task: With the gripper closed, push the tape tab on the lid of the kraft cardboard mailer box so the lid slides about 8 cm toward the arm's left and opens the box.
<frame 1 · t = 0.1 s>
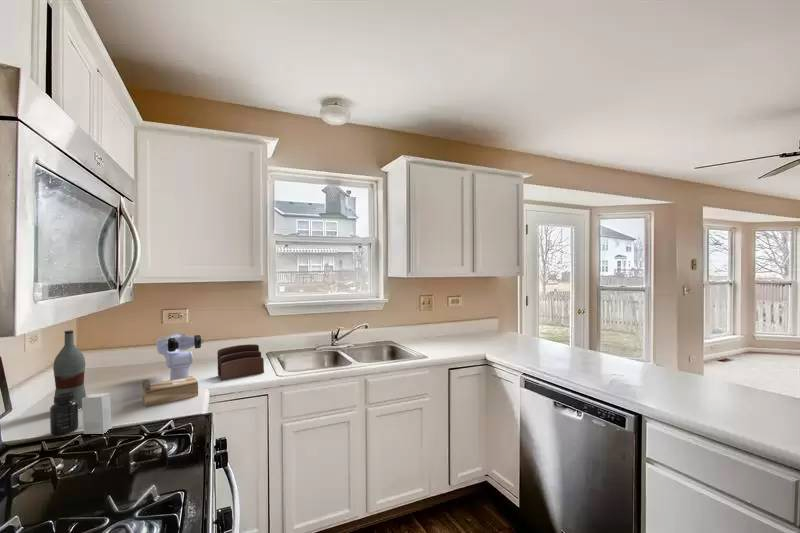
hand: (188, 344, 153), 22 cm above the worktop, tool horizontal, fingers open, 7 cm apart
mailer lid: (170, 380, 153), point 7 cm above the worktop, slide at 0.0 cm
skincare box: (97, 433, 119), on the worktop
letter holder: (241, 375, 187), on the worktop
mailer box: (170, 397, 153), on the worktop
vodka: (70, 410, 143), on the worktop
supplement bottle: (64, 432, 122), on the worktop
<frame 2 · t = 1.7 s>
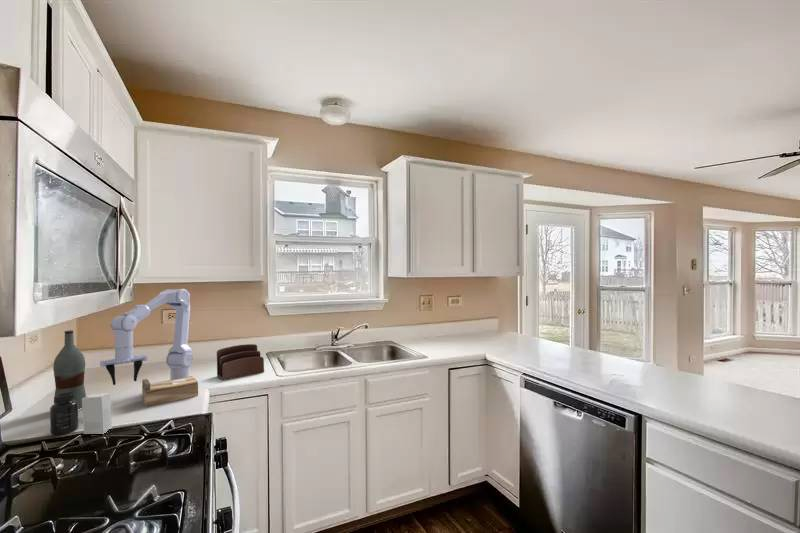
hand: (124, 382, 144), 9 cm above the worktop, tool pointing down, fingers open, 6 cm apart
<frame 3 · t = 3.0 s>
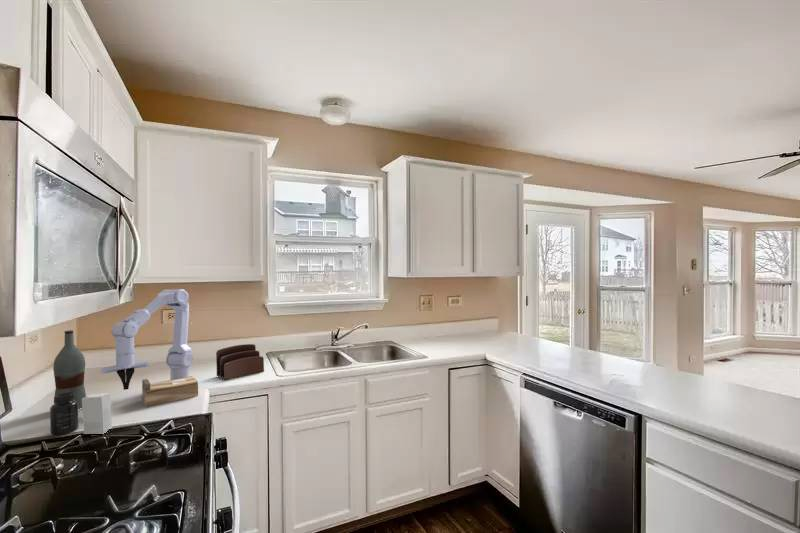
hand: (126, 388, 144), 7 cm above the worktop, tool pointing down, fingers closed
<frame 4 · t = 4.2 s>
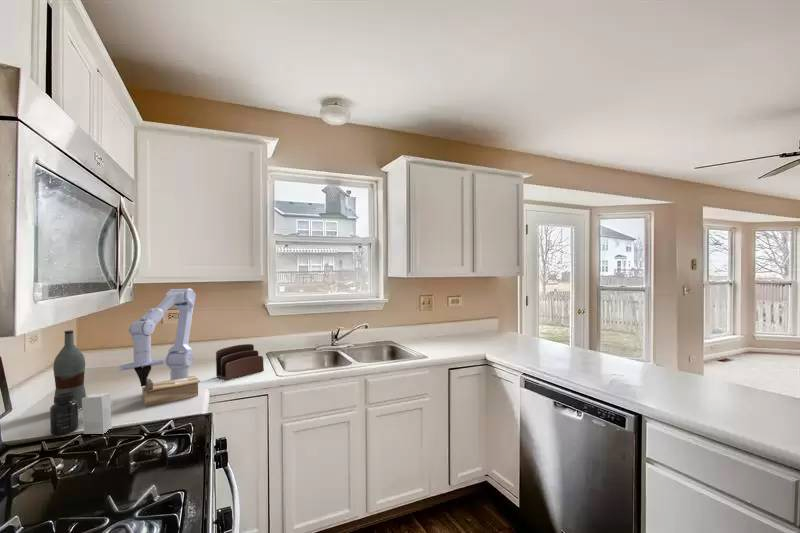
hand: (143, 385, 147), 7 cm above the worktop, tool pointing down, fingers closed
mailer lid: (172, 380, 154), point 7 cm above the worktop, slide at 0.9 cm, touching gripper
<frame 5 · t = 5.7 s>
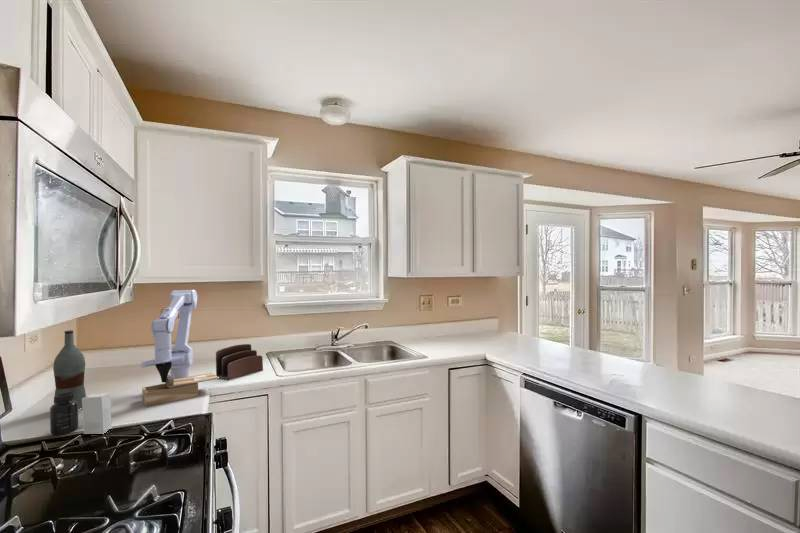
hand: (163, 381, 152), 7 cm above the worktop, tool pointing down, fingers closed
mailer lid: (191, 376, 158), point 7 cm above the worktop, slide at 7.9 cm, touching gripper
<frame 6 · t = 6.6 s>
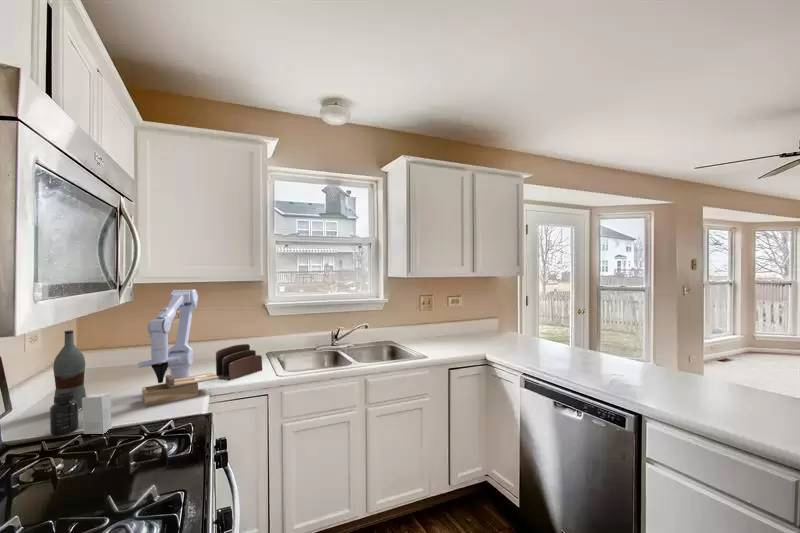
hand: (160, 382, 151), 7 cm above the worktop, tool pointing down, fingers closed
mailer lid: (192, 376, 159), point 7 cm above the worktop, slide at 8.1 cm
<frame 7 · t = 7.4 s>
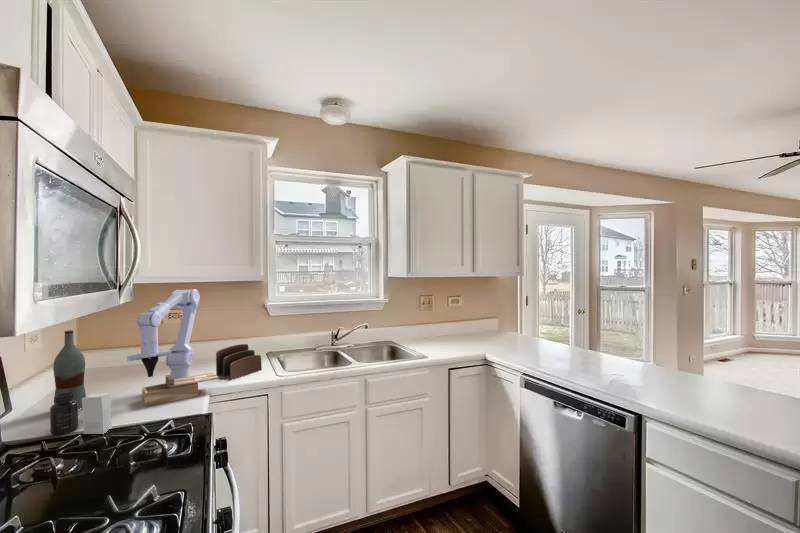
hand: (150, 376, 150), 10 cm above the worktop, tool pointing down, fingers closed
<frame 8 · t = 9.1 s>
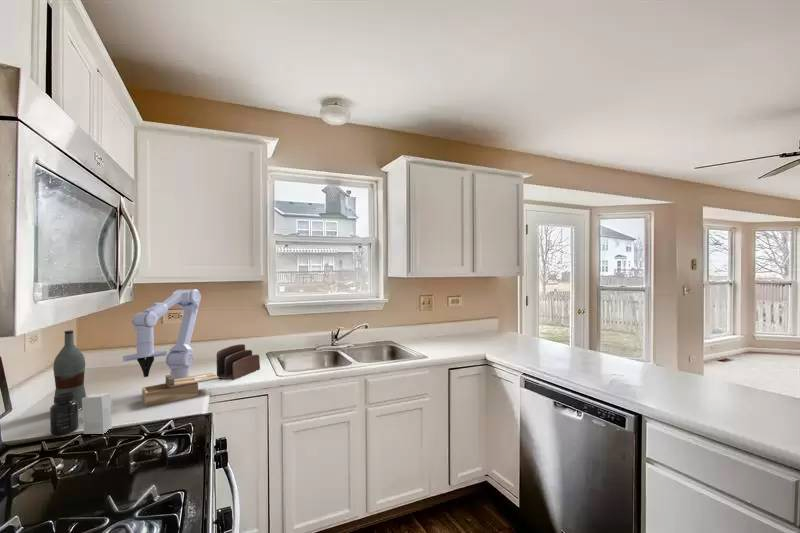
hand: (146, 376, 150), 10 cm above the worktop, tool pointing down, fingers closed
at the end: mailer lid slide at 8.1 cm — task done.
